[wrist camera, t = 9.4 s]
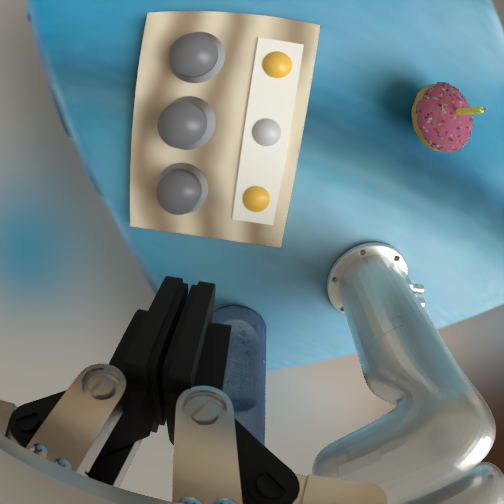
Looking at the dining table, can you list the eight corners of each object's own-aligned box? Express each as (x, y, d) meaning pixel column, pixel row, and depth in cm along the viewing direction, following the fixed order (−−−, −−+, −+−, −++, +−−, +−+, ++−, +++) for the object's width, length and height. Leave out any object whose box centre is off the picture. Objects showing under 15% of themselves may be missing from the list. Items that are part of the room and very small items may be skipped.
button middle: (209, 103, 30) (206, 103, 28) (204, 147, 32) (200, 150, 30) (165, 100, 30) (159, 100, 28) (161, 143, 32) (155, 146, 30)
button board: (317, 29, 28) (320, 24, 26) (280, 241, 41) (280, 248, 39) (153, 16, 28) (147, 12, 26) (135, 220, 40) (129, 226, 38)
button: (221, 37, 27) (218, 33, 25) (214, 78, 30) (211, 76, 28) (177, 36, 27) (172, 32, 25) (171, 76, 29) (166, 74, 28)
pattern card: (303, 45, 28) (303, 44, 27) (273, 224, 38) (273, 225, 37) (258, 38, 28) (258, 37, 27) (232, 218, 38) (232, 219, 37)
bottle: (203, 342, 50) (165, 512, 23) (211, 297, 46) (164, 493, 19) (258, 353, 51) (250, 525, 24) (273, 310, 46) (274, 508, 20)
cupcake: (410, 72, 29) (462, 66, 19) (459, 103, 30) (516, 112, 20) (389, 129, 33) (436, 143, 23) (439, 157, 34) (492, 181, 24)
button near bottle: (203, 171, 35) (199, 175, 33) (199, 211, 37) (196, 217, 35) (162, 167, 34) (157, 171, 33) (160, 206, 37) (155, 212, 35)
